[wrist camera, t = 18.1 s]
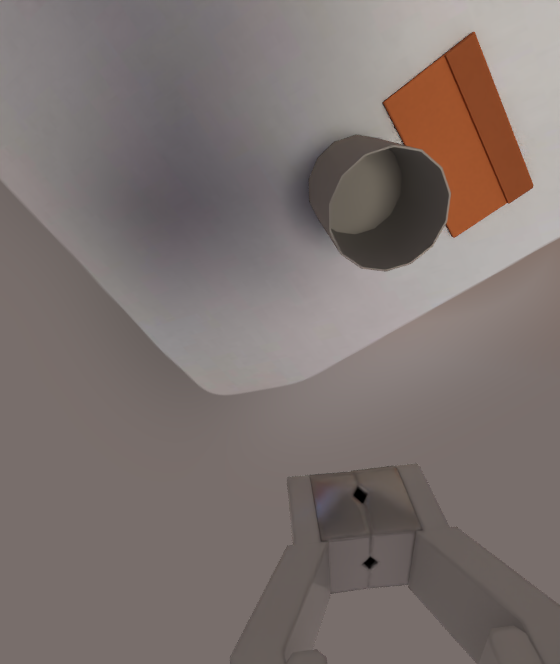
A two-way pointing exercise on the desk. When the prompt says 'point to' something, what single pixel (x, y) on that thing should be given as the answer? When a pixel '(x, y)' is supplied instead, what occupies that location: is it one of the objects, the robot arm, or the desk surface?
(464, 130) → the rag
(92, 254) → the desk surface
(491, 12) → the desk surface
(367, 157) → the cup
